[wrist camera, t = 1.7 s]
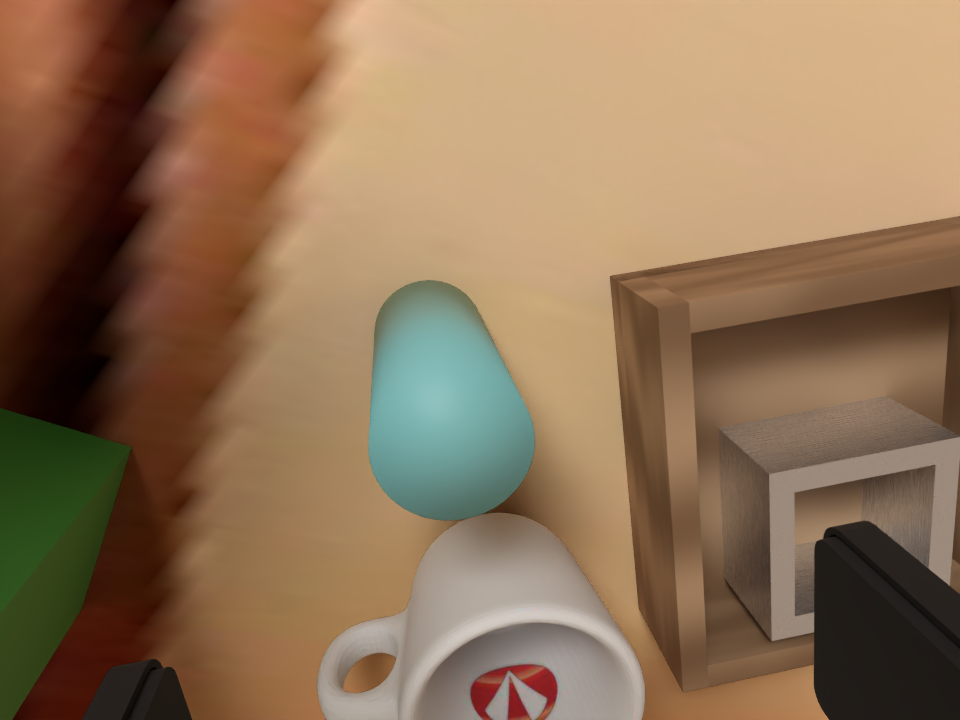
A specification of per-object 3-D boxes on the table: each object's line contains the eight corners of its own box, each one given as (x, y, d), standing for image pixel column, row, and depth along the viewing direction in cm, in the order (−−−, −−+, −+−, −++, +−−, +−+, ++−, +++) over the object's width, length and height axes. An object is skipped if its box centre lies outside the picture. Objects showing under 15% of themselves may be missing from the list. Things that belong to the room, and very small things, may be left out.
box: (610, 276, 27) (657, 307, 22) (961, 216, 28) (1077, 234, 23) (638, 608, 32) (683, 692, 27) (937, 547, 33) (1029, 617, 28)
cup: (348, 679, 31) (335, 857, 24) (308, 519, 28) (279, 660, 21) (591, 630, 32) (655, 786, 24) (574, 469, 29) (639, 588, 22)
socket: (718, 427, 28) (769, 474, 25) (886, 396, 29) (961, 436, 25) (724, 577, 31) (771, 641, 27) (879, 545, 31) (948, 603, 27)
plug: (364, 290, 26) (353, 384, 17) (474, 271, 26) (524, 353, 17) (385, 392, 27) (385, 534, 18) (489, 374, 28) (543, 503, 18)
